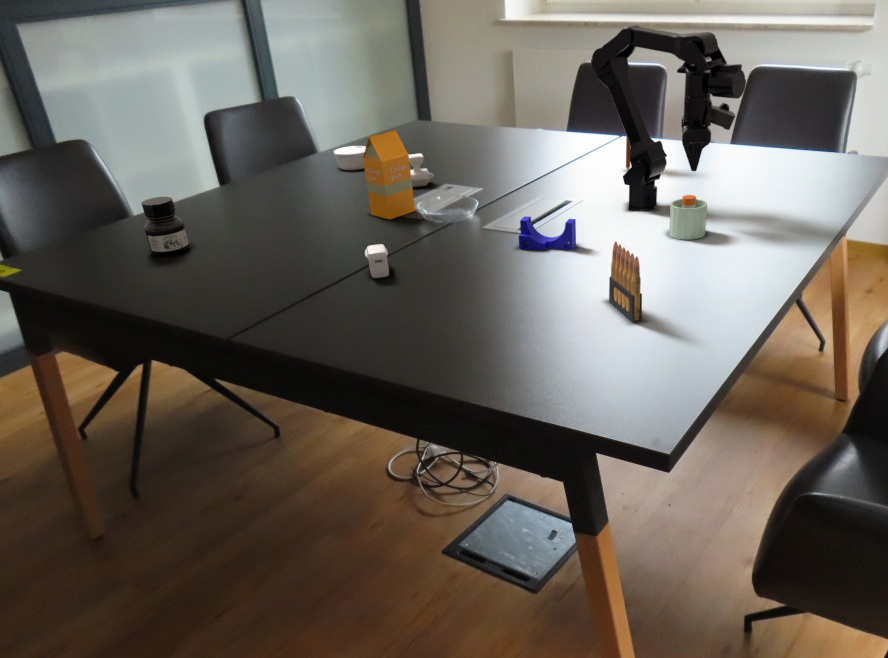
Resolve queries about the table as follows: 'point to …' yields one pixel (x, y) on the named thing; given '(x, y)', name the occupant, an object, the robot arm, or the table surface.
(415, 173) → the stamp
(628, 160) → the magnifying glass
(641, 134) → the robot arm
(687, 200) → the glue stick
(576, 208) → the table surface
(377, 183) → the orange juice
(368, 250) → the power adapter
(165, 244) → the ink bottle
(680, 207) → the pen holder
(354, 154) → the ramekin
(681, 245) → the table surface
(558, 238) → the blue mounting bracket
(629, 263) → the ammunition clip
